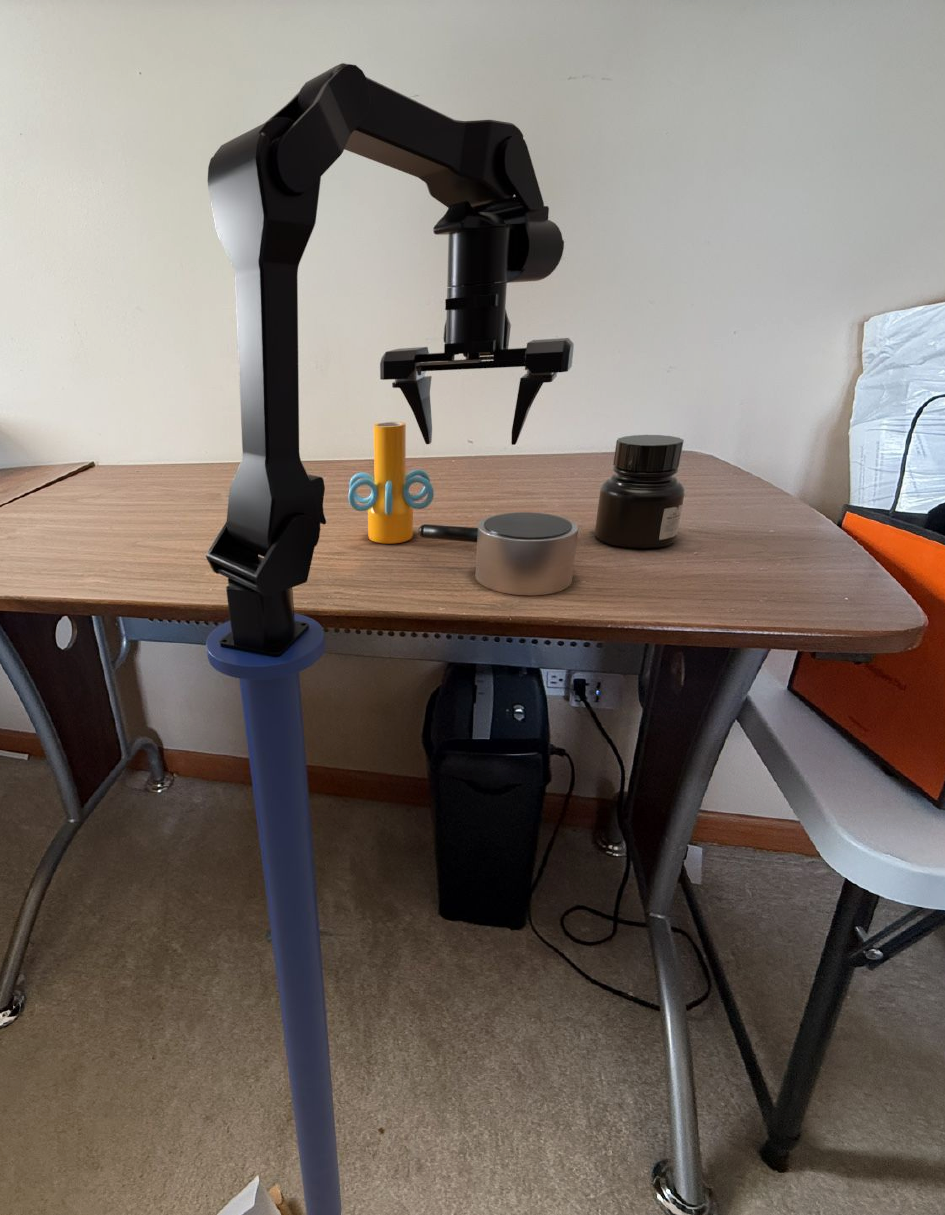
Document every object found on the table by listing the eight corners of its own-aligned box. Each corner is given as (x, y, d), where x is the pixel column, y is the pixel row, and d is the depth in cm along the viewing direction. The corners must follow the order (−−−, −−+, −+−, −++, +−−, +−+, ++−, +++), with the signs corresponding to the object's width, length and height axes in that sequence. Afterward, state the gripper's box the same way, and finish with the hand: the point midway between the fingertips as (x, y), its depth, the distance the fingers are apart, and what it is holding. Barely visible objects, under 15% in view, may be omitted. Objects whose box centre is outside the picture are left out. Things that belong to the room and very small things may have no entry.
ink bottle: (685, 552, 72) (706, 447, 67) (600, 551, 74) (615, 449, 69) (664, 526, 80) (681, 431, 75) (588, 526, 83) (600, 433, 78)
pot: (576, 566, 71) (582, 513, 68) (566, 600, 63) (573, 542, 60) (429, 553, 78) (430, 505, 76) (405, 582, 70) (405, 530, 68)
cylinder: (369, 557, 79) (366, 435, 72) (333, 535, 88) (328, 426, 81) (451, 539, 82) (455, 422, 76) (408, 520, 91) (409, 414, 85)
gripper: (584, 276, 65) (568, 430, 71) (408, 294, 73) (408, 431, 79) (577, 273, 56) (559, 450, 62) (377, 294, 64) (379, 448, 70)
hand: (470, 443), depth 69 cm, fingers open, 9 cm apart
